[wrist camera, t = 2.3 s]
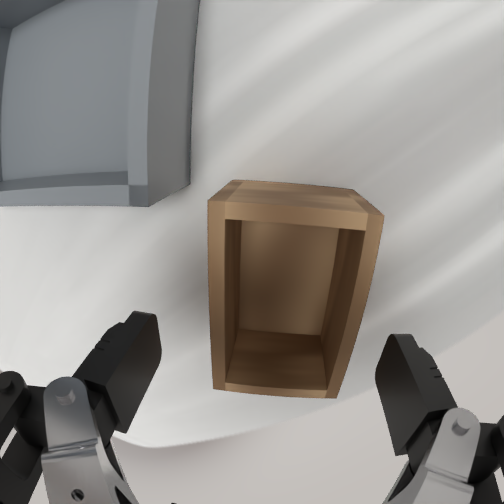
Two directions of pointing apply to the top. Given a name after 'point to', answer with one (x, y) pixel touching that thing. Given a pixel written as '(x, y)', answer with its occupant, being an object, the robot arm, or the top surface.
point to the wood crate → (287, 285)
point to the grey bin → (95, 101)
